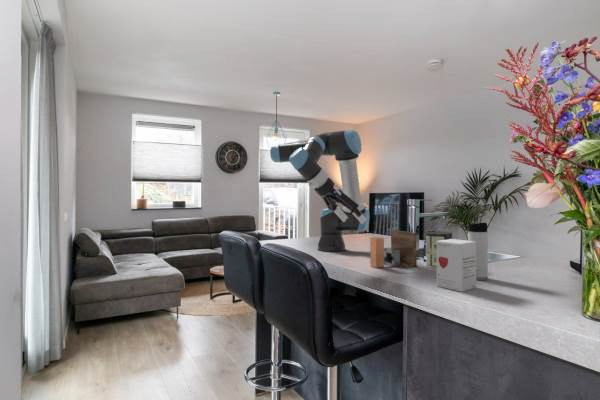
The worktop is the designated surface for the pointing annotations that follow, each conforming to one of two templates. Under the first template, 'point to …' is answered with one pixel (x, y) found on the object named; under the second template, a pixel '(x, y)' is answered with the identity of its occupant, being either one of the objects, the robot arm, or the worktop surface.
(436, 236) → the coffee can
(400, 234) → the backboard
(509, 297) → the worktop surface
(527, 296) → the worktop surface
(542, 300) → the worktop surface
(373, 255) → the upright wooden block
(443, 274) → the supplement box
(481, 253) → the travel mug
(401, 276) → the worktop surface
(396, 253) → the grey thick square slab
